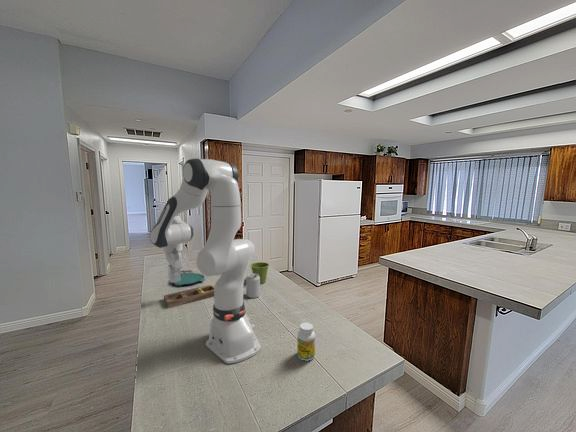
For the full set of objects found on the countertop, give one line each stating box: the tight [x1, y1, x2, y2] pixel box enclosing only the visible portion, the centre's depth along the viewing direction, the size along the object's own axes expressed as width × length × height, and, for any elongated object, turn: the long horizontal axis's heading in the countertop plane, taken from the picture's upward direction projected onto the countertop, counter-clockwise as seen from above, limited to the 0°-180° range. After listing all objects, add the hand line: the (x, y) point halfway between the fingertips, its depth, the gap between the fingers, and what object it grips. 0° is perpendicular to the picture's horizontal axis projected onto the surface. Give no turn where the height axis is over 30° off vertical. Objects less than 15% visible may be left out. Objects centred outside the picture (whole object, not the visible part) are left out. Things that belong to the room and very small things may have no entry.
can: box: [245, 272, 261, 299], centre depth 135 cm, size 8×8×12 cm
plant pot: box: [249, 261, 270, 284], centre depth 155 cm, size 12×12×11 cm
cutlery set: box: [171, 269, 205, 287], centre depth 160 cm, size 20×30×2 cm, turn 35°
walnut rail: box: [163, 283, 215, 309], centre depth 133 cm, size 11×26×3 cm, turn 127°
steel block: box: [167, 264, 181, 284], centre depth 126 cm, size 5×5×8 cm
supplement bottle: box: [296, 322, 316, 362], centre depth 87 cm, size 6×6×11 cm
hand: (174, 273), depth 126 cm, fingers closed on steel block, 5 cm apart
